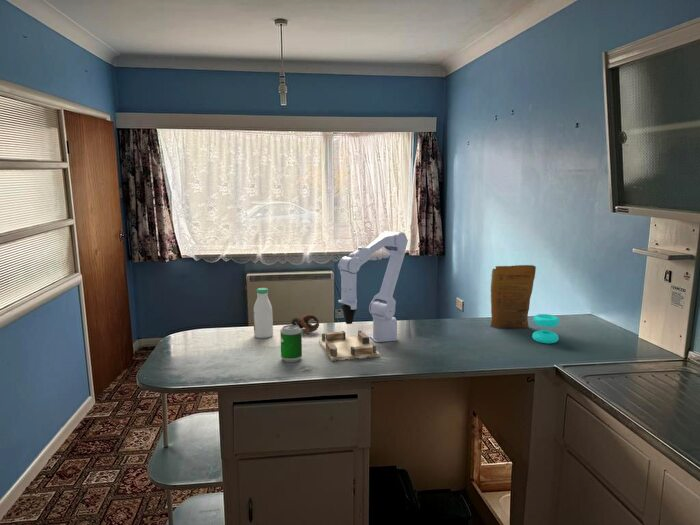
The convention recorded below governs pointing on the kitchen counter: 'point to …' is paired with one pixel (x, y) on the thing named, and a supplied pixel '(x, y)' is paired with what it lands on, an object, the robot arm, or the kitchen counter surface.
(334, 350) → the stool seat
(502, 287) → the pancake mix bag
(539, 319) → the donuts
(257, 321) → the milk bottle
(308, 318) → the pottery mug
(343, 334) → the folding leg
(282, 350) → the soda can
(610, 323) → the kitchen counter surface
